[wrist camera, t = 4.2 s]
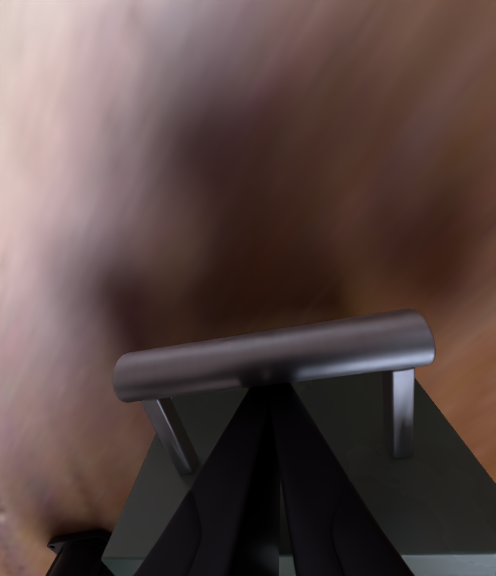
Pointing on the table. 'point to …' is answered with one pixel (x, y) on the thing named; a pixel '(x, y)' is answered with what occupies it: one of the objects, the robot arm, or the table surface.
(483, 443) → the table surface
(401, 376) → the drawer
